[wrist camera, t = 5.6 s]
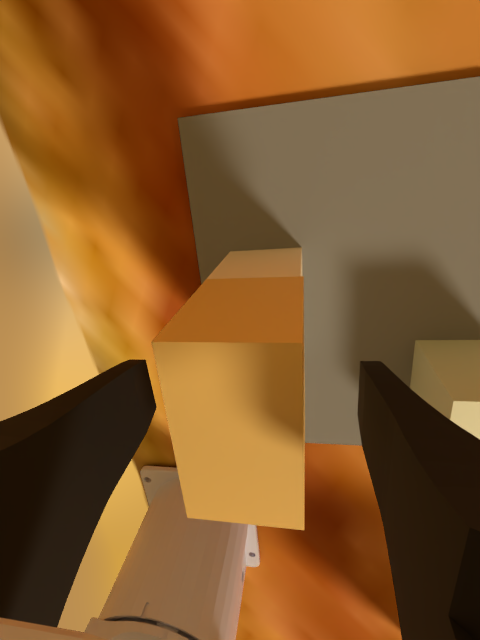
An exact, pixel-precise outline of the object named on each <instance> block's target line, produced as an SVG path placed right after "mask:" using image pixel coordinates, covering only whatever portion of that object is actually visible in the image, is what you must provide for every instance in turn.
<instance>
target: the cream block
mask: <svg viewBox="0 0 480 640" xmlns="http://www.w3.org/2000/svg"><path fill="white" fill-rule="evenodd" d="M298 276H302V247H300V248H283V249H265V250H248V251H230V252H229V254H228V255H227V256H226V257H225V258H224V259H223V260H222V262H221V263H220V264H219V265H218V266H217V267H216V268H215V270H214V271H213V272H212V273H211V274H210V275H209V276H208V278H207V279H228V278H263V277H298Z"/></svg>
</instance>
